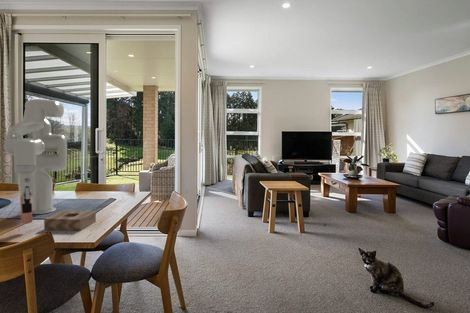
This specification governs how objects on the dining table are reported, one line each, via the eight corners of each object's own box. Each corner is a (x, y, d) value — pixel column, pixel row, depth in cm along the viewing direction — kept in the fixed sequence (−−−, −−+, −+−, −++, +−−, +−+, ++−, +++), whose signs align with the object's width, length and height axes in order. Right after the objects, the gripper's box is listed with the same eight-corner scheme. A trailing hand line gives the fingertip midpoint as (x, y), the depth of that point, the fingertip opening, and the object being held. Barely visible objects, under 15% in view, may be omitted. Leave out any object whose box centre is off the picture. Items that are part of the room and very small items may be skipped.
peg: (18, 223, 123) (17, 191, 121) (25, 220, 127) (24, 189, 125) (28, 224, 123) (27, 191, 121) (34, 221, 127) (33, 189, 125)
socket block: (44, 229, 128) (44, 218, 128) (62, 220, 142) (62, 210, 142) (80, 230, 128) (80, 219, 128) (95, 221, 142) (95, 211, 142)
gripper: (38, 171, 119) (39, 214, 120) (33, 166, 131) (34, 205, 133) (15, 172, 114) (17, 217, 115) (12, 166, 126) (14, 208, 128)
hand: (26, 210), depth 124 cm, fingers closed on peg, 4 cm apart
